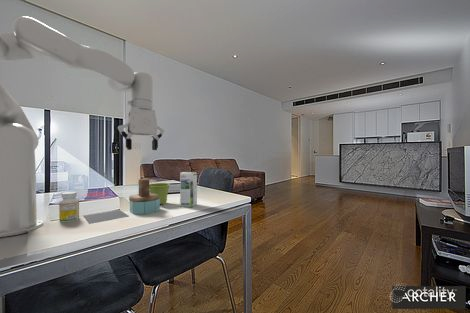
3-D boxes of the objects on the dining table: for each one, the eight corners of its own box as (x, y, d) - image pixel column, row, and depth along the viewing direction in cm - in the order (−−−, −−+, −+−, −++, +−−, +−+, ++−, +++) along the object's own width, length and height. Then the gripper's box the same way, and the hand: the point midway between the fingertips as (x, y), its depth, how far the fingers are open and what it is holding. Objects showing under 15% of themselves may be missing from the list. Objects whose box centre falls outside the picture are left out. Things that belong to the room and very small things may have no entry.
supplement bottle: (71, 223, 72) (71, 194, 72) (55, 223, 72) (54, 194, 72) (83, 218, 78) (82, 191, 77) (67, 218, 78) (67, 191, 77)
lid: (134, 203, 79) (134, 182, 79) (125, 198, 87) (125, 179, 87) (162, 199, 86) (162, 179, 86) (152, 195, 94) (151, 177, 94)
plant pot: (173, 201, 104) (173, 183, 104) (165, 206, 95) (164, 186, 95) (154, 201, 105) (154, 182, 105) (144, 206, 96) (143, 185, 96)
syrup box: (179, 206, 94) (179, 172, 94) (185, 203, 100) (185, 171, 100) (192, 207, 93) (192, 172, 93) (197, 204, 99) (197, 171, 99)
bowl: (136, 217, 79) (136, 203, 79) (127, 211, 86) (127, 199, 86) (163, 212, 86) (163, 199, 86) (152, 207, 93) (152, 195, 93)
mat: (89, 225, 70) (89, 223, 70) (82, 217, 79) (82, 215, 79) (129, 217, 78) (129, 216, 78) (119, 211, 87) (119, 209, 87)
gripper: (120, 100, 78) (121, 149, 78) (167, 107, 90) (167, 150, 90) (115, 104, 84) (115, 149, 84) (159, 110, 95) (159, 150, 95)
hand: (142, 149), depth 87 cm, fingers open, 9 cm apart
